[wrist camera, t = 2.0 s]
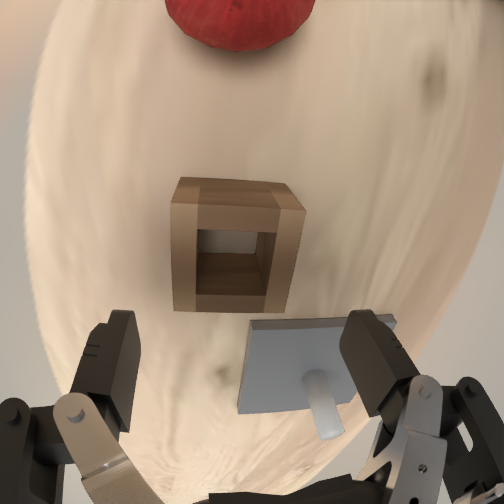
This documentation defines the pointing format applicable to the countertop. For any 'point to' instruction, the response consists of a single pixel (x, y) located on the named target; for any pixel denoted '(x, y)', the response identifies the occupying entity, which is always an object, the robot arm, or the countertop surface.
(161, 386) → the countertop surface
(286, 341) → the post stand
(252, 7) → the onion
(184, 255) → the ring
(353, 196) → the countertop surface
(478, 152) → the countertop surface
